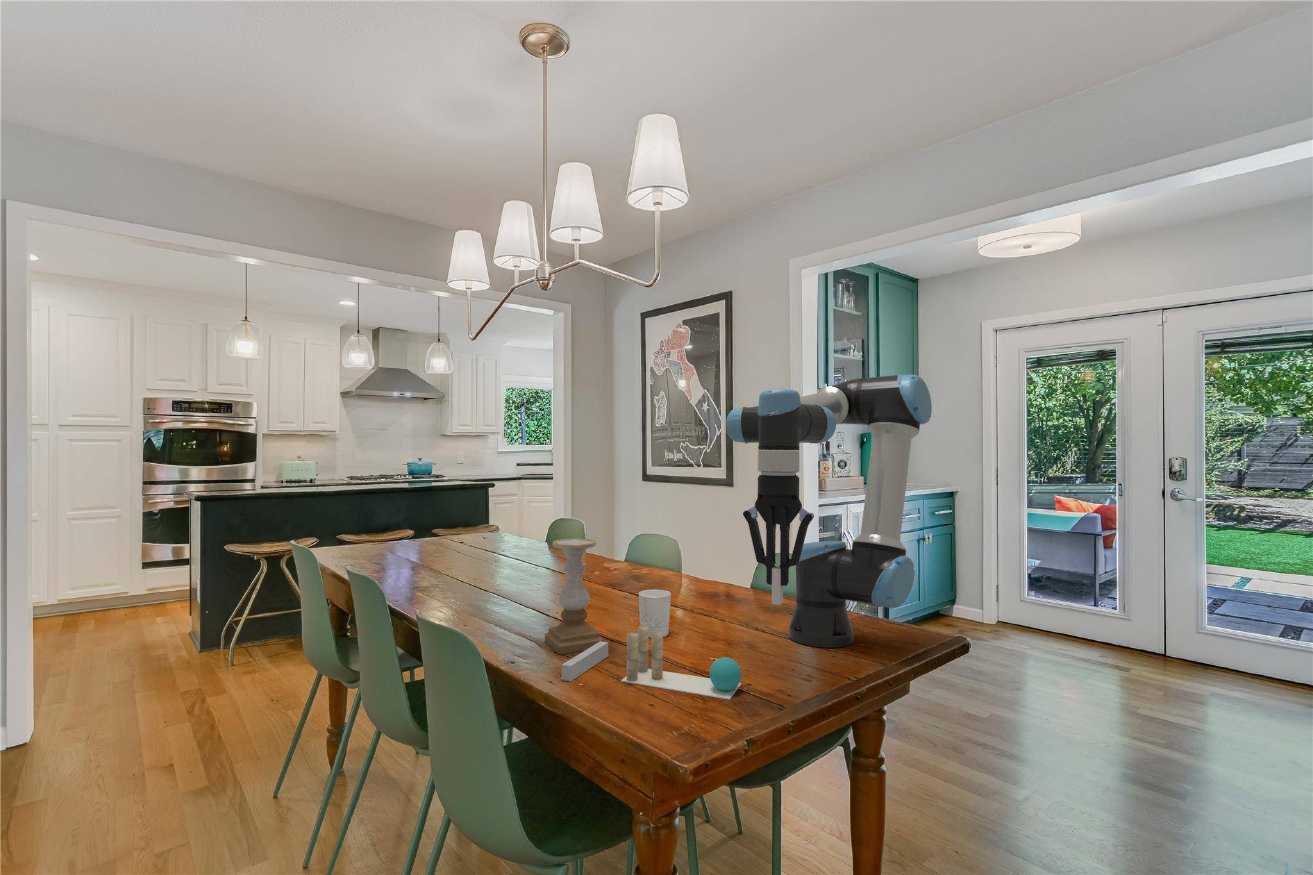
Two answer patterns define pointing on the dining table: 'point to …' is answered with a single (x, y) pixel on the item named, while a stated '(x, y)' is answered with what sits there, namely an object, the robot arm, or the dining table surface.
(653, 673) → the pin front
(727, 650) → the dining table surface
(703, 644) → the dining table surface
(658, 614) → the white cup
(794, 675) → the dining table surface
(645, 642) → the pin
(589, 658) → the wall
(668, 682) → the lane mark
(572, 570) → the candle holder
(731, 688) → the ball
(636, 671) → the pin
